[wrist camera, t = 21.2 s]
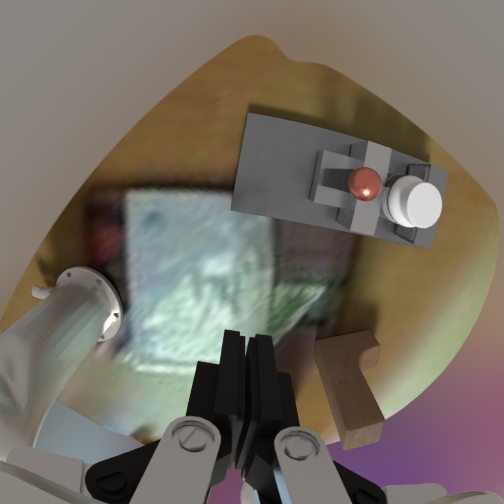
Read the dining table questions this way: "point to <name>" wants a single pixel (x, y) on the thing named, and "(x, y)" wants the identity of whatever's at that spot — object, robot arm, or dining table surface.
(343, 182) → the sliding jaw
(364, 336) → the wooden block
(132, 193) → the dining table surface
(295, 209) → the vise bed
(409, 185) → the pill bottle
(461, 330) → the dining table surface
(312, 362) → the dining table surface
